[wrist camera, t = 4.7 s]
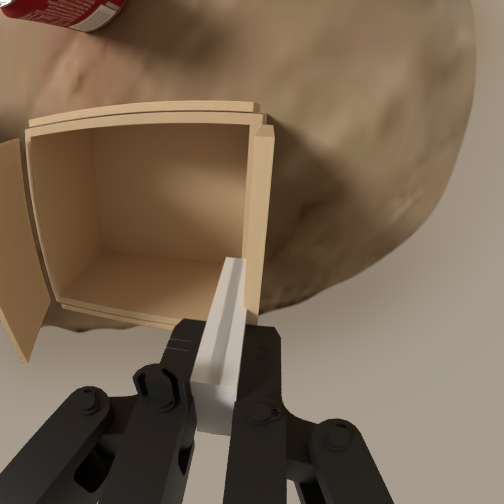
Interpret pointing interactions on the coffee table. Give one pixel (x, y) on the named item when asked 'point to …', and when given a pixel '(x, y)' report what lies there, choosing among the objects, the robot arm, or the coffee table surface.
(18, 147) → the flap
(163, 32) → the coffee table surface
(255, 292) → the flap
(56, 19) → the soda can
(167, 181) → the carton
